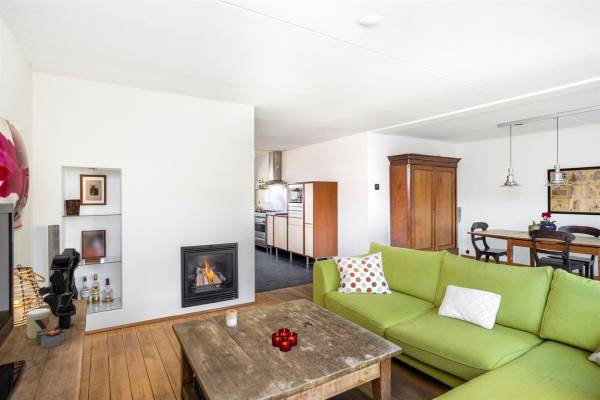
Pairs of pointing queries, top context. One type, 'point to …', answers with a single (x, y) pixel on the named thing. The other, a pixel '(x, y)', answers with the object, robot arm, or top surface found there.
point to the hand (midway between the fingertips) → (59, 311)
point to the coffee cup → (37, 322)
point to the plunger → (52, 331)
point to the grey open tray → (50, 339)
